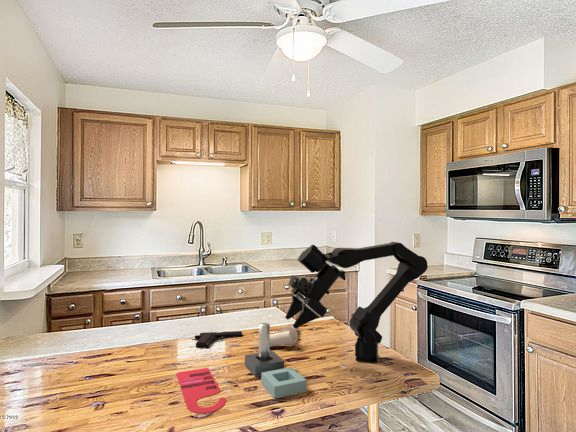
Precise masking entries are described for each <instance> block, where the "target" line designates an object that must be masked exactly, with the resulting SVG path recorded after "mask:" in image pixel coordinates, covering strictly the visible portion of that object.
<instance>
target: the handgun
mask: <svg viewBox="0 0 576 432" xmlns="http://www.w3.org/2000/svg"><path fill="white" fill-rule="evenodd" d="M238 337H239V338H241V337H243V332H242V331H241V330H237V331H235V330H234V331H233V330H232V331H221V332H219V331H218V332H217V331H214V332H212V331H210V332H200V333H199V334H196V335H195V336H194V340H195V341H197V342H195V348H197V349H198V348H199V349H210V348H209V347H210V346H211V345H212V343H213V342H215V341H222V340H224V339H227V338H228V339H229V338H238Z"/></svg>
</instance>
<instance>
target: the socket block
mask: <svg viewBox="0 0 576 432" xmlns="http://www.w3.org/2000/svg"><path fill="white" fill-rule="evenodd" d="M244 366H245V367H246V368H247V369H248V370H249V371H250V373H251V375H253V376H254V378H256V377H261V373H262V372H268V371H273V370H278V369H284V368H285V360H284V359H283V358H282V357H280V356H279V355H278V354H277V352H275V351H274V350H270V360H267V361H261V362H260V361H259V352H256V353H249V354H244Z"/></svg>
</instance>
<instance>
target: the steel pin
mask: <svg viewBox="0 0 576 432" xmlns="http://www.w3.org/2000/svg"><path fill="white" fill-rule="evenodd" d="M270 334H271V324H270V323H269V322H260V323H259V324H258V353H259V361H260V362H261V361H267V360H270V351H271V350H270Z"/></svg>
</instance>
